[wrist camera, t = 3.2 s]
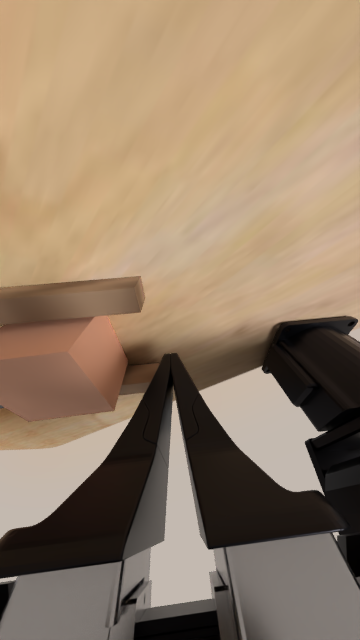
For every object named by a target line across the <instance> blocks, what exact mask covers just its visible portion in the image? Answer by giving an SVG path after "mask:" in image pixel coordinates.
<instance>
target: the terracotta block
mask: <svg viewBox="0 0 360 640" xmlns="http://www.w3.org/2000/svg"><path fill="white" fill-rule="evenodd" d="M127 364H128V359H127V357H126V355H125V353H124V351H123V349H122V346H121V344H120V342H119V340H118V338H117V336H116V333H115V331H114V329H113V327H112V325H111V323H110V320H109V318H108V316H107V315H106V316H94V317H83V318H72V319H61V320H50V321H38V322H27V323H16V324H6V325H4V326H2V327H1V328H0V405H1V406H3V407H5V408H6V409H8V410H10V411H11V412H13V413H15V414H17V415H18V416H20V417H22V418H23V419H25V420H27V421H28V422H29V421H37V420H45V419H53V418H61V417H69V416H77V415H85V414H93V413H100V412H108V411H114V410H115V406H116V403H117V399H118V396H119V392H120V389H121V385H122V382H123V378H124V375H125V371H126V367H127Z"/></svg>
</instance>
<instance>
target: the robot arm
mask: <svg viewBox="0 0 360 640" xmlns="http://www.w3.org/2000/svg"><path fill="white" fill-rule="evenodd" d="M357 322H358V320H357V319H356V318H354V317H351V316H349V317H338V318H327V319H317V320H306V321H295V322H286V323H283V324H282V325H280V327H279V329H278V331H277V333H276V336H275V338H274V341H273V343H272V345H271V348H270V350H269V352H268V355H267V357H266V359H265V362H264V364H263V367H262V370H263V371H264V373H266V374H268V373H272V375H273V376H274V378H275V379H276V380H277V382H278V383H279V385H280V386H281V388H282V389H283V390H284V392H285V394H286V395H287V396H288V398H289V399H290V401H291V402H292V403H293V404H294V405H295V406H296V407H301V408H302V410H303V411H304V413H305V414H306V416H307V417H308V418H309V420H310V421H311V422H312V424H313V425H314V427H315V428H316V429H317V431H327V432H325V433H324V434H322V435H320V436H318V437H316V438H311V439H308V440H307V441H305V445H306V447H307V450H308V452H309V455H310V458H311V461H312V463H313V466H314V468H315V471H316V474H317V476H318V479H319V482H320V484H321V486H322V490H323V492H324V495H325V496H324V495H323V494H322V493H321V492H319V491H317V490H310V491H301V492H292V491H289V490H286V489H285V488H283V487H281V486H280V485H278V484H277V483H276V482H275V481H274V480H273V479H272V478H271V477H269V476H268V475H267V474H266V473H265V472H264V471H263V470H262V469H261V468H260V467H259V466H257V465H256V464H255V463H254V462H253V461H252V460H251V459H250V458H249V457H248V456H247V455H245V454H244V453H243V452H242V451H241V450H240V449H239V448H238V447H237V446H236V445H235V443H234V442H233V441H232V440H231V438H230V437H229V436H228V434H227V433H226V432H225V430H224V429H223V427H222V426H221V425H220V424H219V422H218V421H217V419H216V418H215V417H214V415H213V414H212V412H211V411H210V409H209V408H208V406H207V405H206V403H205V402H204V400H203V398H202V396H201V395H200V394H199V391H198V390H197V388H196V386H195V384H194V382H193V381H192V379H191V377H190V375H189V374H188V372H187V370H186V368H185V367H184V365H183V363H182V361H181V360H180V358H179V356H178V354H177V353H171V354H170V353H168V354H164V356H163V358H162V360H161V362H160V364H159V366H158V368H157V370H156V372H155V374H154V376H153V378H152V380H151V382H150V384H149V386H148V388H147V390H146V392H145V394H144V396H143V398H142V400H141V402H140V404H139V406H138V408H137V409H136V411H135V413H134V415H133V417H132V418H131V420H130V422H129V423H128V425H127V427H126V428H125V430H124V431H123V433H122V435H121V436H120V438H119V439H118V441H117V442H116V444H115V445H114V447H113V449H112V450H111V452H110V453H109V455H108V456H107V458H106V459H105V460H104V461H103V463H102V464H101V465H100V466H99V467H98V468H97V469H96V470H95V471H94V472H93V473H92V474H91V475H90V476H89V477H88V478H87V479H86V480H85V481H84V482H83V483H82V484H81V485H80V486H79V487H78V488H77V489H76V490H75V491H74V492H73V493H72V494H71V495H70V496H69V497H68V498H67V499H66V500H65V501H64V502H63V503H62V504H61V505H60V506H59V507H58V508H57V509H56V510H55V511H54V512H53V513H52V514H51V515H50V516H48V517H47V518H46V519H44V520H43V521H42V522H40V523H38V524H36V525H34V526H30V527H23V528H16V529H12V530H9V531H8V532H7V533H6V534H5V535H4V536H3V537H2V538H1V539H0V578H8V577H14V576H18V577H17V579H16V580H15V581H8V582H1V583H0V640H360V342H359V341H357V340H356V339H354V338H352V337H351V336H349V335H348V334H349V333H350V331H351V330H352V329H353V328H354V326H355V325H356V324H357ZM173 386H174V392H175V397H176V403H177V408H178V414H179V419H180V425H181V431H182V435H183V441H184V447H185V452H186V458H187V464H188V469H189V475H190V480H191V486H192V491H193V497H194V502H195V508H196V514H197V519H198V525H199V530H200V536H201V538H202V539H203V541H204V543H205V545H206V546H207V548H208V549H214V556H215V563H216V571H214V572H209V575H210V583H211V591H212V599H207V600H200V601H194V602H187V603H180V604H173V605H167V606H160V607H154V608H150V607H151V584H152V583H151V580H150V581H149V570H150V549H151V547H152V546H154V545H156V544H158V543H160V542H162V541H164V533H165V516H166V500H167V483H168V466H169V448H170V432H171V414H172V399H173ZM333 532H339V535H338V536H337V541H336V539H335V538H334V535H333Z"/></svg>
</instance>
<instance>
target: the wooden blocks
mask: <svg viewBox="0 0 360 640" xmlns="http://www.w3.org/2000/svg"><path fill="white" fill-rule="evenodd" d="M144 300H145V295H144V290H143V286H142V281H141V276H138V277H125V278H113V279H101V280H89V281H77V282H65V283H53V284H41V285H29V286H16V287H4V288H0V325H5V324H16V323H27V322H38V321H50V320H61V319H72V318H83V317H94V316H106V315H117V314H128V313H139V312H141V310H142V306H143V303H144ZM159 364H160V363H152V364H142V365H131V366H127V367H126V371H125V375H124V378H123V382H122V385H121V389H120V392H119V395H126V394H135V393H145V392H146V390H147V388H148V386H149V384H150V382H151V380H152V378H153V376H154V374H155V372H156V370H157V368H158V366H159Z"/></svg>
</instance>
